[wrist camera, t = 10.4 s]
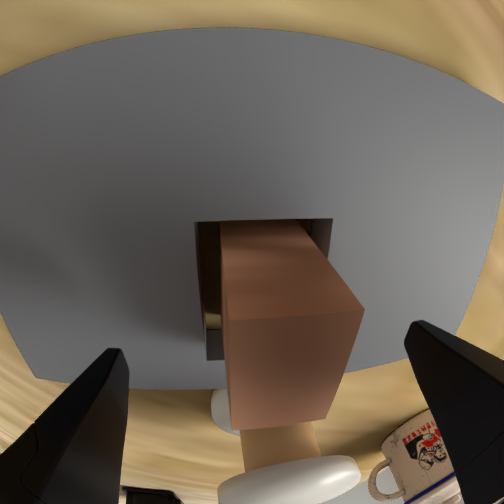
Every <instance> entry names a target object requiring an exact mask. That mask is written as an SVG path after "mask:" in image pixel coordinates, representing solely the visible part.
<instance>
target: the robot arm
mask: <svg viewBox="0 0 504 504" xmlns="http://www.w3.org/2000/svg"><path fill="white" fill-rule="evenodd" d="M404 347H405V350H406V352H407V355H408V358H409V360H410V363H411V366H412V368H413V371H414V374H415V377H416V379H417V382H418V384H419V387H420V389H421V391H422V393H423V395H424V398H425V400H426V402H427V404H428V407H429V409H430V411H431V413H432V416H433V418H434V420H435V423H436V425H437V428H438V430H439V433H440V435H441V437H442V440H443V443H444V445H445V448H446V450H447V453H448V456H449V458H450V461H451V464H452V466H453V469H454V472H455V476H456V478H457V481H458V484H459V488H460V491H461V494H462V497H463V500H464V503H465V504H493V503H495V502H496V501H498V500H499V499H501V498H503V497H504V360H502V359H500V358H498V357H496V356H494V355H492V354H490V353H488V352H486V351H484V350H482V349H480V348H478V347H476V346H474V345H472V344H470V343H468V342H467V341H465V340H463V339H461V338H459V337H457V336H455V335H453V334H451V333H449V332H447V331H445V330H443V329H441V328H439V327H437V326H435V325H433V324H431V323H429V322H427V321H425V320H417V321H413V322H412V323H411V324H410V326H409V329H408V331H407V334H406V336H405V339H404ZM129 377H130V372H129V367H128V364H127V361H126V359H125V356H124V353H123V351H122V349H120V348H107V349H106V350H105V351H104V352H103V353H102V354H101V355H100V356H99V357H98V358H96V359H95V360H94V361H93V362H92V363H91V364H90V365H89V366H88V367H87V368H86V369H85V370H84V371H83V372H82V373H81V374H80V375H79V376H78V377H77V378H76V379H75V380H74V381H73V382H72V383H71V384H70V385H69V386H68V387H67V388H66V389H65V390H64V391H63V392H62V393H61V395H60V396H59V397H58V398H57V399H56V400H55V401H54V402H53V403H52V404H51V405H50V406H49V407H48V408H47V409H46V410H45V411H44V412H43V413H42V414H41V415H40V416H39V417H38V418H37V419H36V420H35V424H34V423H32V424H31V426H30V427H29V428H28V429H27V430H26V431H25V432H24V433H23V434H22V435H21V436H20V437H19V438H18V439H17V440H16V441H15V442H14V443H13V444H12V445H10V446H9V447H8V448H7V449H6V450H5V451H4V452H3V453H2V454H0V504H118V502H119V488H120V476H121V466H122V457H123V449H124V441H125V433H126V426H127V417H128V393H129ZM122 491H123V492H124V493H126V494H127V496H126V504H184V503H183V502H182V501H181V500H180V499H179V498H178V497H177V496H176V494H175V493H174V492H167V491H153V490H142V489H133V488H126V487H122ZM498 504H504V499H503V500H501V501H500V502H499V503H498Z"/></svg>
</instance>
